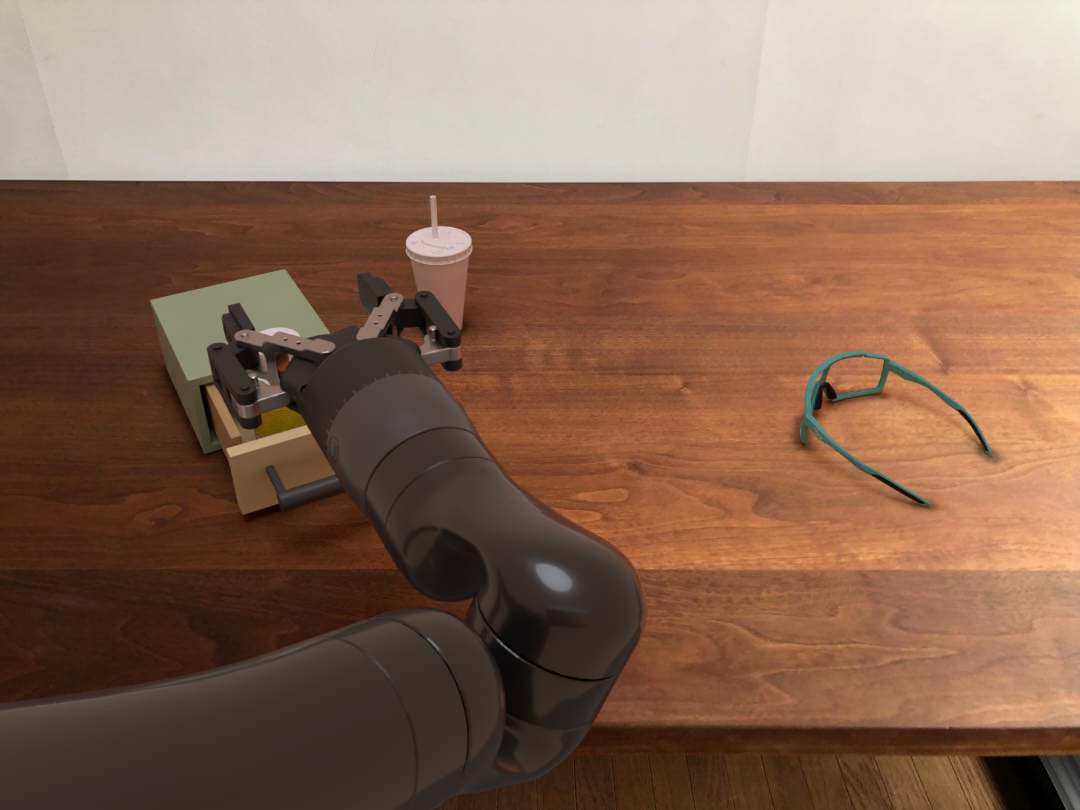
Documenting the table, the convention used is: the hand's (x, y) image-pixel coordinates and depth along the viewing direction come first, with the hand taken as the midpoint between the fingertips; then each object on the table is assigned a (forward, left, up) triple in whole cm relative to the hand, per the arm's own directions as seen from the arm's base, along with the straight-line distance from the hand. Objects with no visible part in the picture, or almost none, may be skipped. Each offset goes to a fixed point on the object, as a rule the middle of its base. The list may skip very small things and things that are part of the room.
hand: (301, 300), depth 68 cm
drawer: (0, +10, -21) cm, 23 cm away
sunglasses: (+46, -10, -22) cm, 52 cm away
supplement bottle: (0, +11, -20) cm, 22 cm away
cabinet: (0, +23, -21) cm, 31 cm away
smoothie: (+20, +25, -22) cm, 39 cm away
